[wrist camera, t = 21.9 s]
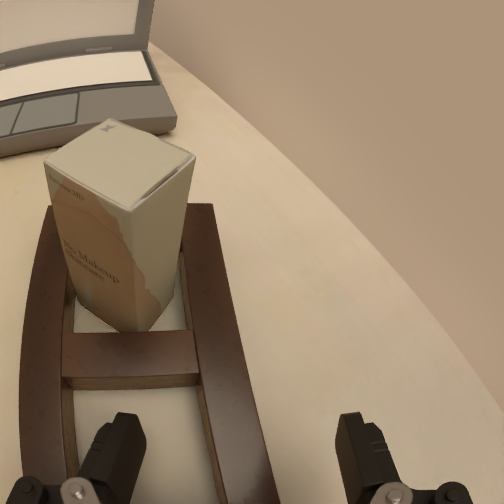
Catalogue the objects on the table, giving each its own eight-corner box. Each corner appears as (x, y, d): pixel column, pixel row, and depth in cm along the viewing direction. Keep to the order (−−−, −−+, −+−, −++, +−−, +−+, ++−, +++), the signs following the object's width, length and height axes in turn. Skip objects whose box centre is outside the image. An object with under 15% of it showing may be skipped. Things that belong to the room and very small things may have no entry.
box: (77, 302, 18) (35, 156, 10) (116, 258, 21) (107, 112, 13) (142, 347, 18) (130, 210, 10) (179, 296, 21) (200, 150, 13)
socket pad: (207, 226, 25) (212, 203, 23) (275, 533, 12) (291, 540, 11) (54, 228, 21) (47, 205, 20) (53, 546, 8) (38, 554, 7)
